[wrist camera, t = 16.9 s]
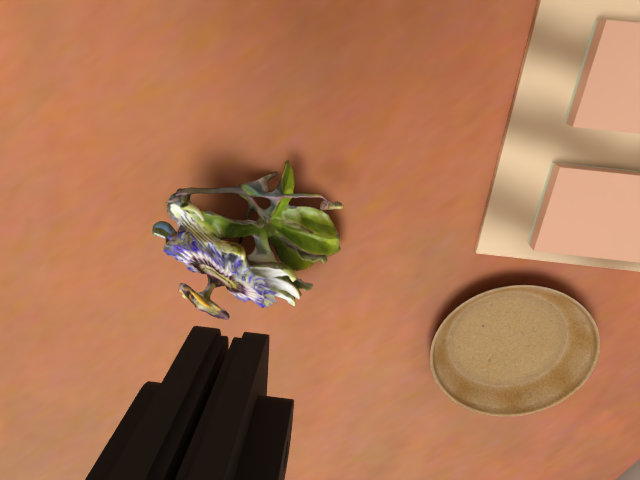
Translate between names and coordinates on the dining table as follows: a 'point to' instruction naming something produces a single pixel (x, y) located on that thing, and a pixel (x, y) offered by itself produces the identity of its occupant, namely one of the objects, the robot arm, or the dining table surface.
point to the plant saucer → (514, 350)
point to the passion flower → (260, 266)
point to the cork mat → (551, 129)
